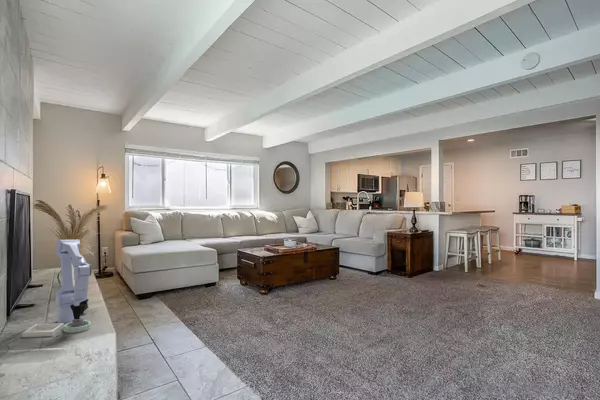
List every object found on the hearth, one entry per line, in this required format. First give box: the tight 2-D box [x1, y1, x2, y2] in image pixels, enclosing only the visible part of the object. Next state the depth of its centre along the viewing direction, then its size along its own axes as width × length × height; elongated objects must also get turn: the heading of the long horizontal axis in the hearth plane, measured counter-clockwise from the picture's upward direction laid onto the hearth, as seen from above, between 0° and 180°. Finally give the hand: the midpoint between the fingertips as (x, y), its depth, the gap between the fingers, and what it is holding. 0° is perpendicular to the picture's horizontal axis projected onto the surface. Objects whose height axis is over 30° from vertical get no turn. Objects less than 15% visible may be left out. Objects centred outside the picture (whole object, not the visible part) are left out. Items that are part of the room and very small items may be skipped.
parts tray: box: [21, 322, 65, 338], centre depth 153 cm, size 12×12×3 cm
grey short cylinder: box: [72, 317, 84, 327], centre depth 159 cm, size 5×5×4 cm
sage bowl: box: [63, 319, 92, 334], centre depth 159 cm, size 11×11×3 cm
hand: (78, 316), depth 159 cm, fingers open, 7 cm apart
